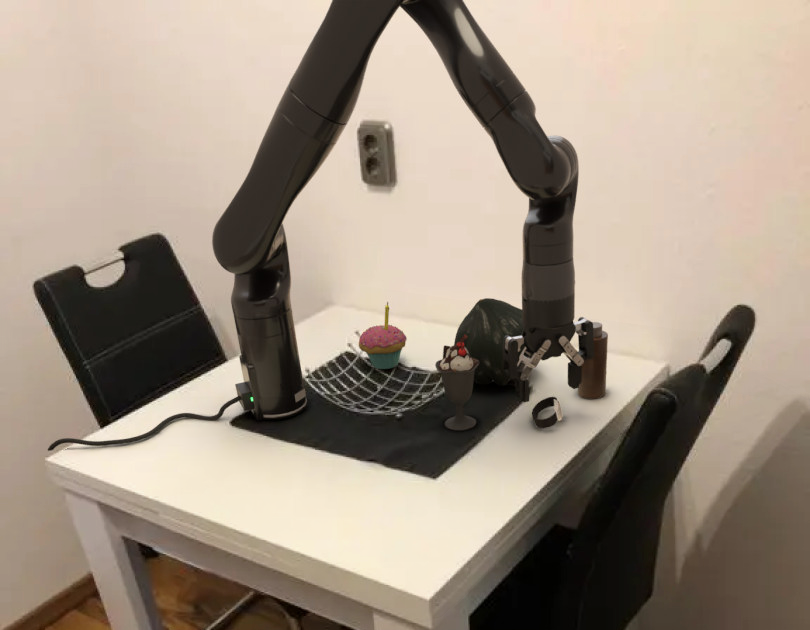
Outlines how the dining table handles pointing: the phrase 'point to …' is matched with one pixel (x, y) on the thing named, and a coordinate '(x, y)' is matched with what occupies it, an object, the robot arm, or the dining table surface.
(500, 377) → the squash
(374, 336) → the cupcake
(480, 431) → the dining table surface
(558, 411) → the watch
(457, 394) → the sundae
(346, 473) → the dining table surface
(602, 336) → the pepper mill
